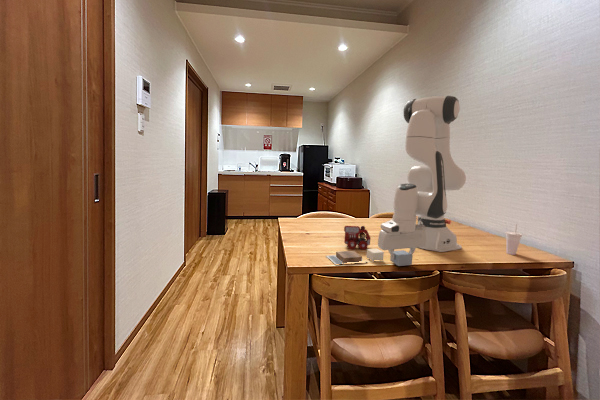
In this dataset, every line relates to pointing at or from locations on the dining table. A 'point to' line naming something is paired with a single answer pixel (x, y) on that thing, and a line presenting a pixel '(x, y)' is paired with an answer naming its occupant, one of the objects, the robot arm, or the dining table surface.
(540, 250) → the dining table surface
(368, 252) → the cream brick
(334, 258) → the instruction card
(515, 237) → the smoothie
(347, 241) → the toy fire truck
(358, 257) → the plinth
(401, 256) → the slate brick
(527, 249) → the dining table surface
